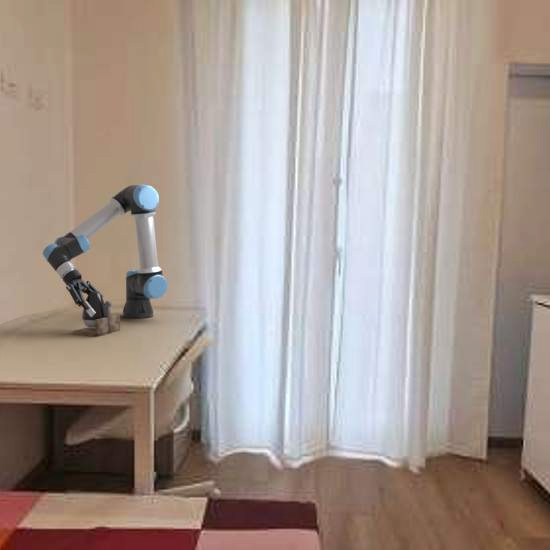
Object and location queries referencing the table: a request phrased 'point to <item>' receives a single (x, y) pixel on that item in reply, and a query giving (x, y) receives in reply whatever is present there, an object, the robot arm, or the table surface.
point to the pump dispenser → (97, 305)
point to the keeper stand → (102, 324)
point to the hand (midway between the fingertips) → (100, 313)
